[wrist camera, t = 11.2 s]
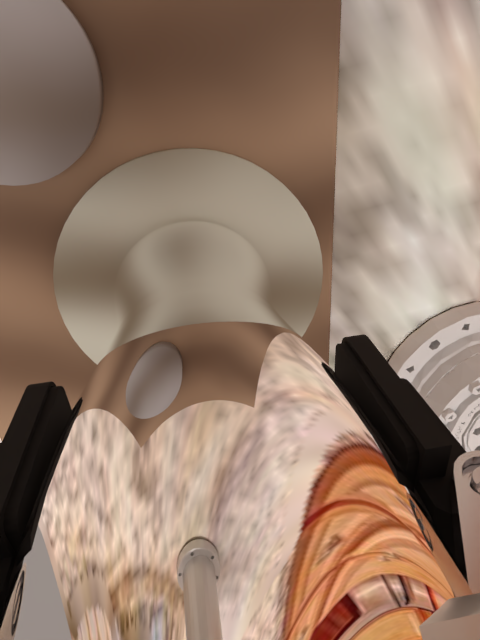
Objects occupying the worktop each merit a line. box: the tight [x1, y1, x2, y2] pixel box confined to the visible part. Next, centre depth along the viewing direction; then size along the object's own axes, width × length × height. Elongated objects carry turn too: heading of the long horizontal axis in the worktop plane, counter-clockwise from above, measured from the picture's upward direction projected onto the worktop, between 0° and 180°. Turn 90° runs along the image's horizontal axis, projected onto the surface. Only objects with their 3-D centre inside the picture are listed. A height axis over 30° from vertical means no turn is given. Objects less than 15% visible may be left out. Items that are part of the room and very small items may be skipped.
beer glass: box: [0, 221, 473, 640], centre depth 11 cm, size 7×7×15 cm
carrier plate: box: [0, 0, 341, 441], centre depth 16 cm, size 20×16×2 cm
